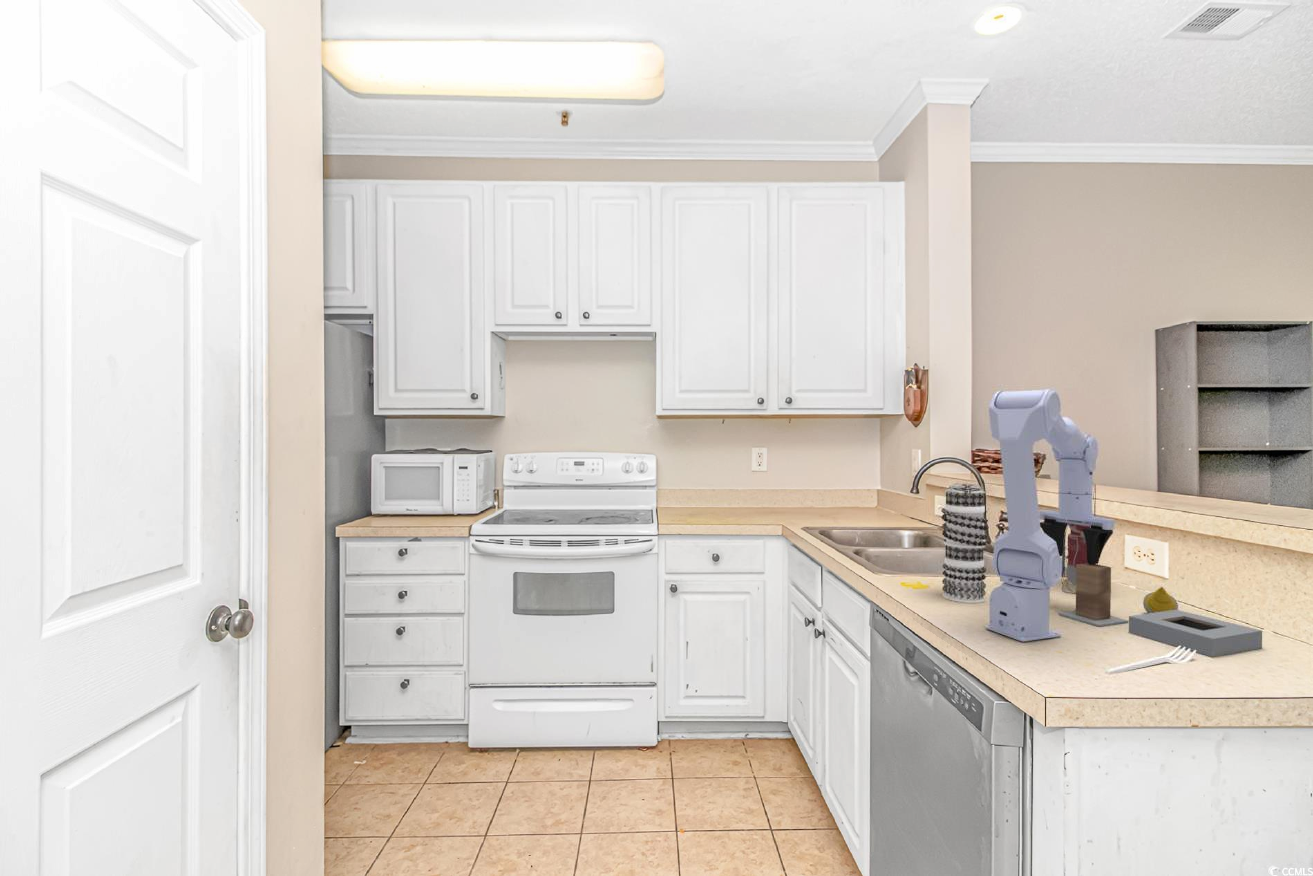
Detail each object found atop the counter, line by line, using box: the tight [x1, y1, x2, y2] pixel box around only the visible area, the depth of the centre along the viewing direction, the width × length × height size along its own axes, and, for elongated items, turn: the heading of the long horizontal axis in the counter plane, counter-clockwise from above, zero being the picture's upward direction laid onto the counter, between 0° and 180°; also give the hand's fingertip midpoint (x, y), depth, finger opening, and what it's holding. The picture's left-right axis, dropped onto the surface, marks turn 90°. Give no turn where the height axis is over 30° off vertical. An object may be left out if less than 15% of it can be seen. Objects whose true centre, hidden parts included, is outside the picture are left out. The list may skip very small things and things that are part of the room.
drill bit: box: [1142, 586, 1179, 614], centre depth 122 cm, size 5×5×10 cm
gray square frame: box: [1128, 609, 1263, 658], centre depth 109 cm, size 13×13×3 cm
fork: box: [1104, 646, 1197, 676], centre depth 97 cm, size 3×20×2 cm, turn 112°
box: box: [1061, 483, 1097, 595], centre depth 142 cm, size 25×6×24 cm, turn 144°
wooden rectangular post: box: [1075, 563, 1112, 621], centre depth 121 cm, size 4×4×10 cm
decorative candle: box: [941, 482, 989, 604], centre depth 136 cm, size 9×9×25 cm
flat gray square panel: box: [1058, 610, 1129, 628], centre depth 121 cm, size 8×8×1 cm
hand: (1074, 559), depth 126 cm, fingers open, 7 cm apart
